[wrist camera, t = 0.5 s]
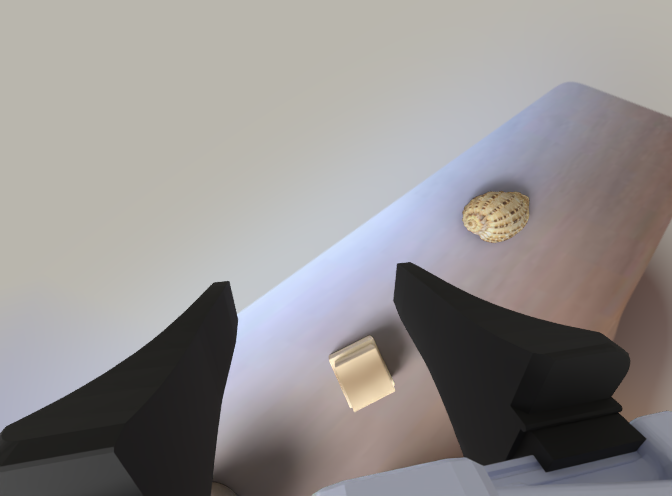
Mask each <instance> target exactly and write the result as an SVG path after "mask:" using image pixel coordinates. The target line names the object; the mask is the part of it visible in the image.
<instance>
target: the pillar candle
mask: <svg viewBox="0 0 672 496" xmlns="http://www.w3.org/2000/svg"><path fill="white" fill-rule="evenodd" d="M211 496H237V495H236V494H235V493H234V492H233V491H232V490H231V489H230V488H228V487H227V486H225V485H222V484H220V483H216V482H212V489H211Z"/></svg>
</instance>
